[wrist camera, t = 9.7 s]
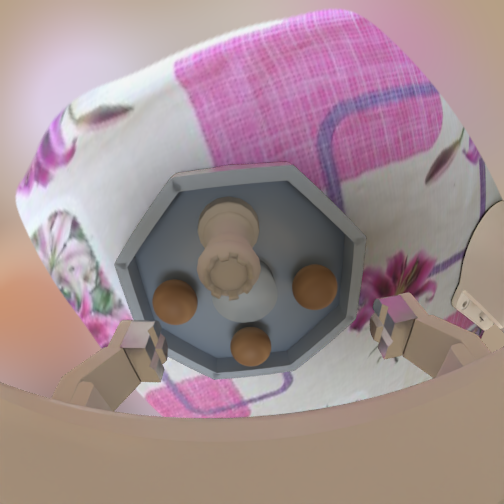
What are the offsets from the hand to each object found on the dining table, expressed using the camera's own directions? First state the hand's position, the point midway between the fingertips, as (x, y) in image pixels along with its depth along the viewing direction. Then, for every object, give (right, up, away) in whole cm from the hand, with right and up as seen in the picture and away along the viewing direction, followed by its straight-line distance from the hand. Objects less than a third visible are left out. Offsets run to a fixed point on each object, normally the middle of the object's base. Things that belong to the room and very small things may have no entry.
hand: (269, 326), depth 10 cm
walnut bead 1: (-7, 0, +13) cm, 14 cm away
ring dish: (-1, +1, +14) cm, 14 cm away
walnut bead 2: (-1, -5, +15) cm, 16 cm away
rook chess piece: (-2, +5, +11) cm, 12 cm away
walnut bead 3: (+4, +1, +13) cm, 14 cm away
